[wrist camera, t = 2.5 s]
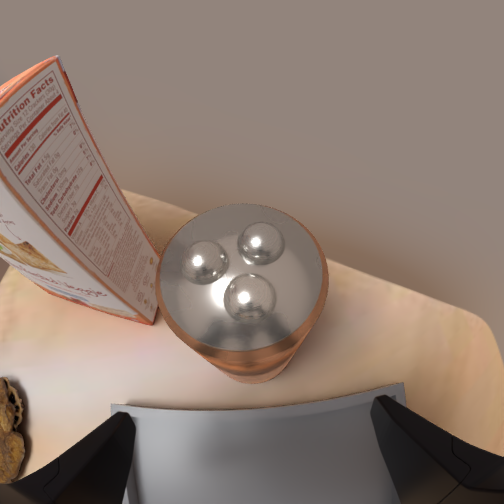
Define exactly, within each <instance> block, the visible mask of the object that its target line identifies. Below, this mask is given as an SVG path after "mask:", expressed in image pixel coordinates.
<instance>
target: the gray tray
mask: <svg viewBox="0 0 504 504" xmlns="http://www.w3.org/2000/svg"><path fill="white" fill-rule="evenodd" d="M383 394H385V395H388V396H389V397H391V398H392V399H394V400H395V401H397V402H399V403H400V404H402V405H403V406H405V407H406V399H405V391H404V384H403V382H402V383H397V384H392V385H388V386H384V387H380V388H376V389H373V390H369V391H364V392H360V393H356V394H351V395H346V396H342V397H336V398H331V399H326V400H320V401H313V402H307V403H300V404H292V405H284V406H274V407H263V408H249V409H226V410H189V409H167V408H153V407H142V406H133V405H123V404H111V416H112V415H114V414H115V413H116V412H118V411H123V412H128V413H129V414H130V416H131V418H132V420H133V422H134V423H135V425H136V436H135V443H134V451H133V459H132V464H131V468H130V472H129V477H128V481H127V485H126V489H125V494H124V498H123V503H122V504H401V502H400V500H399V497H398V494H397V492H396V489H395V487H394V484H393V481H392V479H391V476H390V474H389V471H388V469H387V466H386V464H385V461H384V459H383V456H382V454H381V451H380V448H379V445H378V442H377V438H376V434H375V430H374V427H373V423H372V419H371V416H370V410H371V407H372V403H373V400H374V398H375V397H376V396H379V395H383Z"/></svg>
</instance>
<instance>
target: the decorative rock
mask: <svg viewBox="0 0 504 504" xmlns="http://www.w3.org/2000/svg"><path fill="white" fill-rule="evenodd" d="M13 396H14V398H15V403H14V404H12V403H11V400H12V397H13ZM21 401H22V399H20V398H19V397H18V390H16V389H15V388H13V387H11V386H10V383H9V380H8V378H7V377H1V378H0V483H5V484H6V483H13V482H14V481H12V480H11V479H14V478H15V477H17V476H18V473H19V469H20V465H21V462H22V460H23V458H24V453H25V448H24V441H23V437H22V435H21V434H20V433H17V426H18V425H19V424H20V423H21V421H22V411H23V408H24V405H23V404H22V402H21ZM17 405H18V409H15V406H17ZM15 416H17V417H18V418H17V420H14V417H15Z"/></svg>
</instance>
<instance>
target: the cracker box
mask: <svg viewBox="0 0 504 504" xmlns="http://www.w3.org/2000/svg"><path fill="white" fill-rule="evenodd" d="M0 257H2V258H3V259H4V260H5V261H7V262H8V263H9V264H10V265H11V266H13V267H14V268H15V269H17V270H18V271H19V272H20V273H21V274H23V275H24V276H25V277H27V278H28V279H29V280H31V281H32V282H33V283H35V284H36V285H38V286H39V287H40V288H42V289H43V290H45V291H46V292H48V293H49V294H52V295H55V296H58V297H60V298H63V299H66V300H69V301H71V302H74V303H77V304H80V305H83V306H86V307H89V308H92V309H95V310H98V311H102V312H105V313H108V314H111V315H115V316H118V317H121V318H125V319H129V320H132V321H136V322H139V323H143V324H147V325H153V322H154V318H155V315H156V312H157V308H158V302H157V298H156V290H155V278H156V272H157V267H158V263H159V260H160V255H159V253H158V252H157V250H156V249H155V247H154V246H153V244H152V242H151V241H150V239H149V237H148V236H147V234H146V233H145V231H144V229H143V228H142V226H141V224H140V222H139V221H138V219H137V217H136V216H135V214H134V212H133V210H132V209H131V207H130V205H129V203H128V202H127V200H126V198H125V196H124V195H123V193H122V191H121V189H120V187H119V185H118V184H117V182H116V180H115V178H114V176H113V174H112V172H111V170H110V169H109V167H108V165H107V163H106V161H105V159H104V157H103V155H102V153H101V151H100V149H99V147H98V145H97V143H96V141H95V139H94V137H93V134H92V132H91V130H90V128H89V126H88V124H87V122H86V119H85V117H84V115H83V113H82V111H81V108H80V106H79V104H78V101H77V99H76V97H75V94H74V92H73V89H72V86H71V84H70V82H69V79H68V77H67V74H66V72H65V69H64V67H63V64H62V61H61V59H60V56H57V55H56V56H53V57H51V58H49V59H47V60H45V61H43V62H41V63H39V64H37V65H35V66H33V67H32V68H30V69H28V70H26V71H25V72H23V73H21V74H19V75H18V76H16V77H14V78H12V79H11V80H9V81H8V82H7V83H5V84H3V85H2V86H0Z"/></svg>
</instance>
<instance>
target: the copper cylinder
mask: <svg viewBox="0 0 504 504" xmlns="http://www.w3.org/2000/svg"><path fill="white" fill-rule="evenodd" d="M328 285H329V274H328V268H327V263H326V259H325V256H324V253H323V251H322V249H321V247H320V245H319V243H318V242H317V240H316V239H315V237H314V236H313V235H312V234H311V232H310V231H309V230H308V229H307V228H306V227H305V226H304V225H303V224H301V223H300V222H299V221H297V220H296V219H295V218H293V217H291V216H290V215H288V214H286V213H284V212H282V211H279V210H277V209H274V208H271V207H267V206H262V205H256V204H232V205H226V206H221V207H217V208H215V209H212V210H209V211H207V212H205V213H202V214H200V215H198V216H197V217H195V218H193V219H192V220H190V221H189V222H188V223H186V224H185V225H184V226H183V227H182V228H181V229H179V230H178V231H177V232H176V233H175V235H174V236H173V237H172V238H171V240H170V241H169V242H168V244H167V246H166V247H165V249H164V251H163V253H162V255H161V257H160V260H159V263H158V267H157V272H156V278H155V290H156V298H157V302H158V305H159V309H160V311H161V313H162V316H163V318H164V320H165V321H166V323H167V324H168V326H169V327H170V329H171V330H172V331H173V332H174V333H175V334H176V336H177V337H179V338H180V339H181V340H182V341H183V342H184V343H186V344H187V345H188V346H189V347H190V348H192V349H193V350H194V351H196V352H197V353H198V354H199V355H201V356H202V357H203V358H204V359H206V360H207V361H208V362H210V363H211V364H212V365H214V366H215V367H216V368H218V369H219V370H220V371H222V372H223V373H225V374H226V375H227V376H229V377H230V378H232V379H234V380H236V381H239V382H242V383H248V384H256V383H262V382H265V381H268V380H270V379H272V378H274V377H275V376H277V375H278V374H279V373H280V372H281V371H282V370H283V369H284V368H285V366H286V365H287V364H288V362H289V361H290V359H291V358H292V357H293V355H294V354H295V352H296V351H297V349H298V348H299V346H300V345H301V343H302V342H303V340H304V339H305V337H306V336H307V334H308V333H309V331H310V330H311V328H312V327H313V325H314V324H315V322H316V320H317V319H318V317H319V315H320V313H321V311H322V309H323V307H324V304H325V301H326V297H327V292H328Z"/></svg>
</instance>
